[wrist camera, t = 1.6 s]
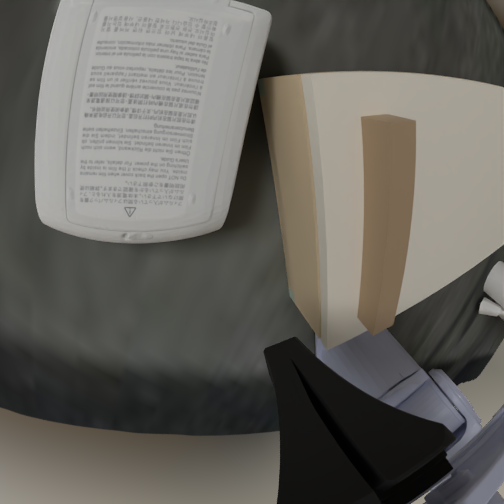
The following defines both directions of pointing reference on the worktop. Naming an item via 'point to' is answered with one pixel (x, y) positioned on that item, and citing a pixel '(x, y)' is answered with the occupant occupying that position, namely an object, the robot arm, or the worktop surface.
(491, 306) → the fire extinguisher
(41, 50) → the worktop surface
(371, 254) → the sliding box lid
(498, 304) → the white wood-trimmed shelf
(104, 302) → the worktop surface
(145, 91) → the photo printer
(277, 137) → the box
